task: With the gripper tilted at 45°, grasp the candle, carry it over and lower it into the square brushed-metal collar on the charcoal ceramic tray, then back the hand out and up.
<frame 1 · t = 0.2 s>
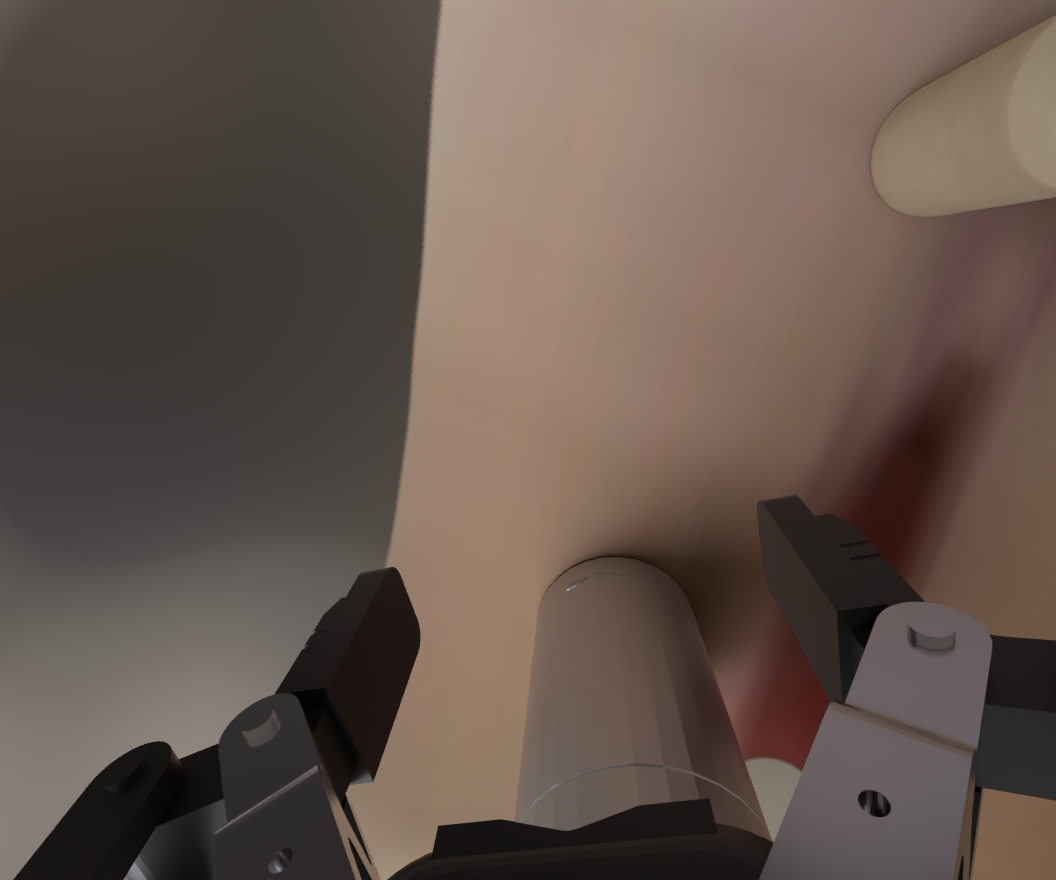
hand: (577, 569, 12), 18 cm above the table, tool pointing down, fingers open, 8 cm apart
candle: (930, 153, 25), on the table
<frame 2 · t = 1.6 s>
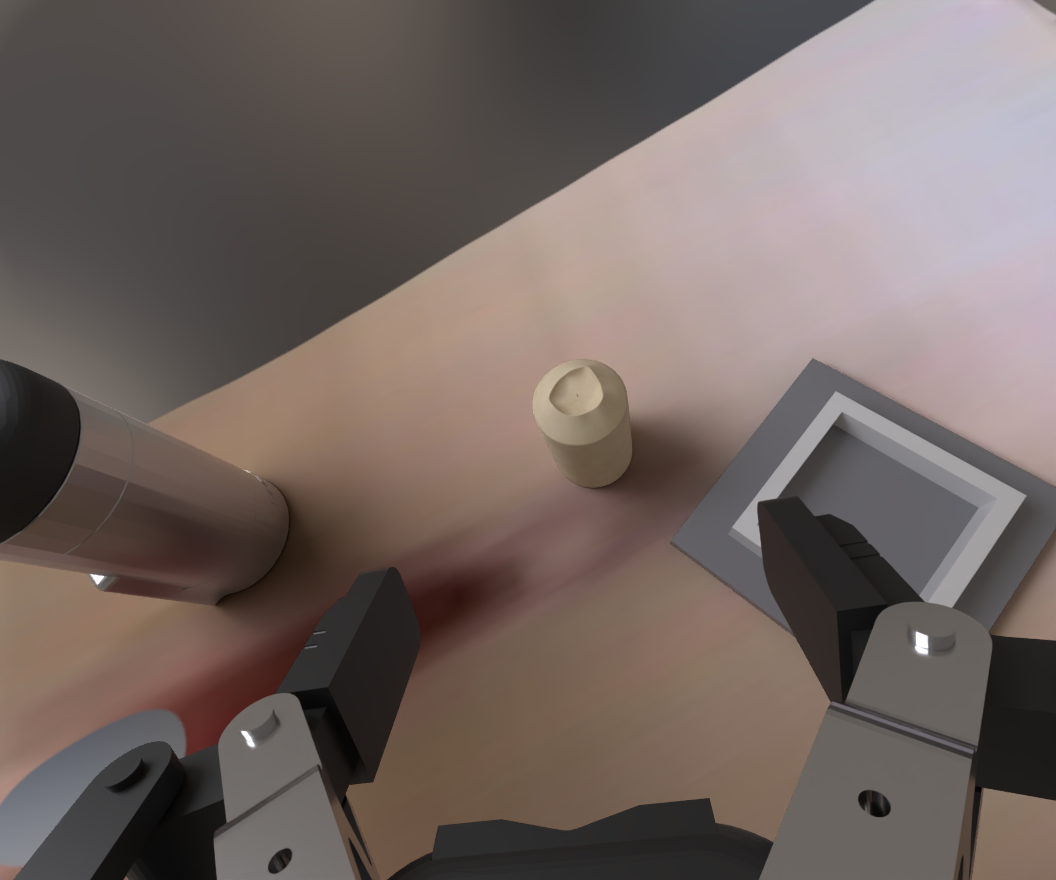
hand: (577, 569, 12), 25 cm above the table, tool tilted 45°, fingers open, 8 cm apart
candle: (594, 452, 40), on the table
candle tray: (856, 524, 35), on the table
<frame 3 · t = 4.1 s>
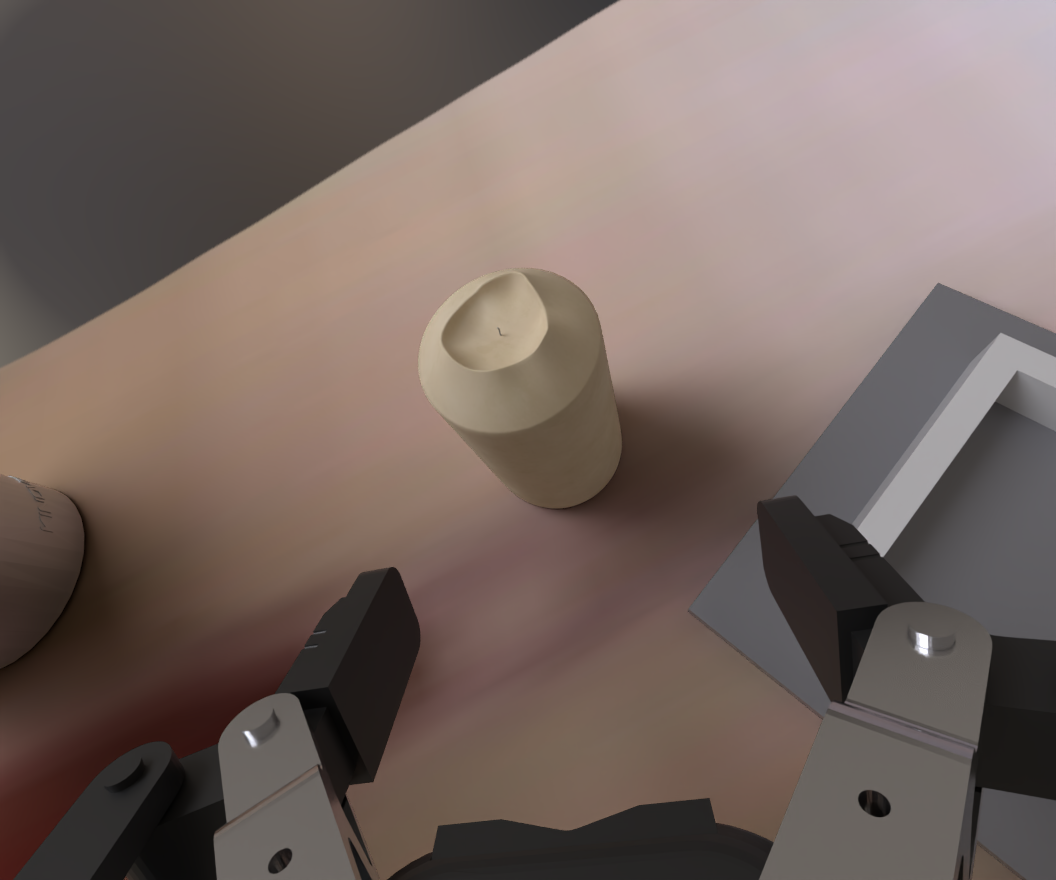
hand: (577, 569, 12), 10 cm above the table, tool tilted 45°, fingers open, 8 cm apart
candle: (558, 449, 24), on the table
candle tray: (1041, 583, 18), on the table
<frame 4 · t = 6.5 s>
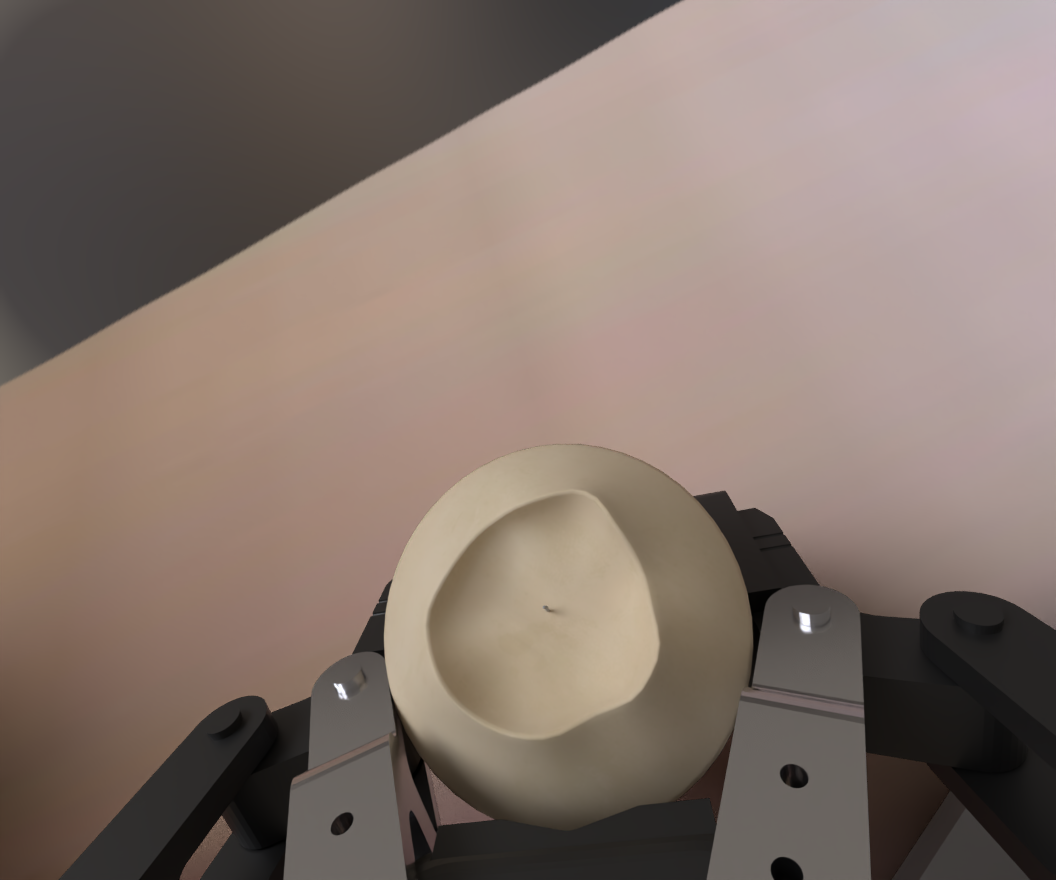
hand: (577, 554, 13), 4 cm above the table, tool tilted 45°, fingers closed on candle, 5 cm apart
candle: (606, 645, 16), on the table, touching gripper
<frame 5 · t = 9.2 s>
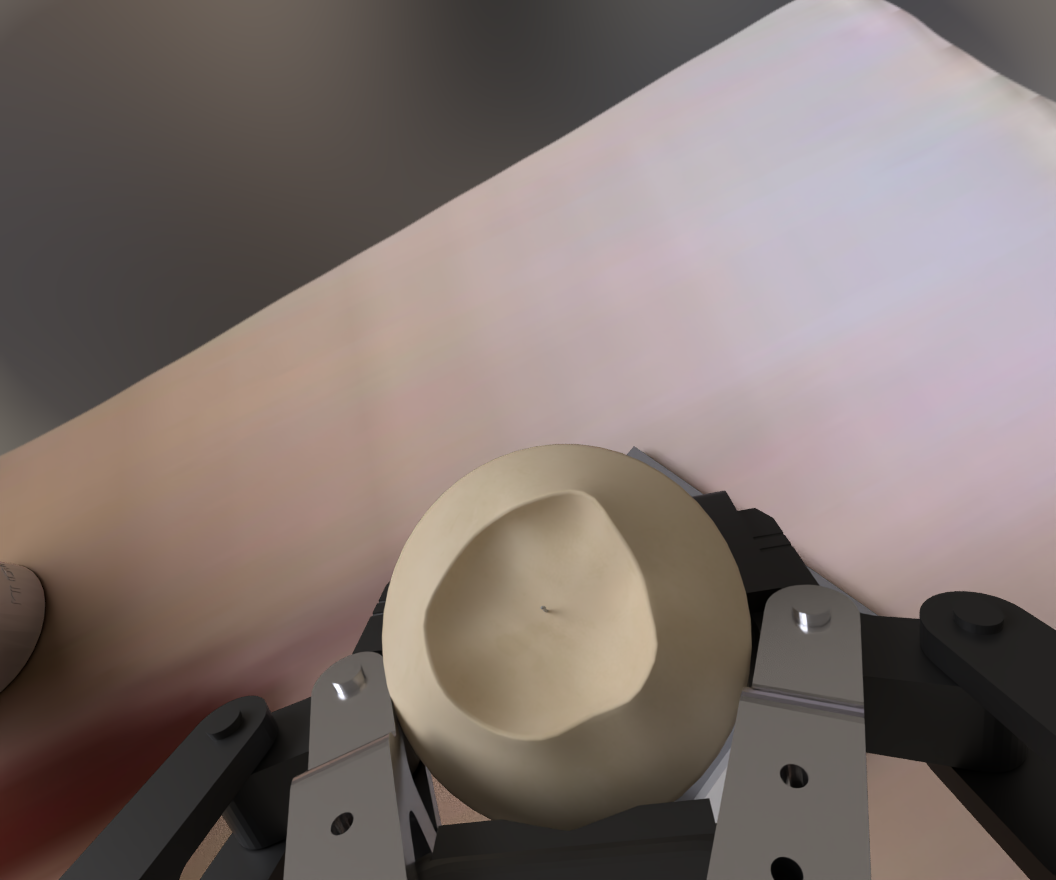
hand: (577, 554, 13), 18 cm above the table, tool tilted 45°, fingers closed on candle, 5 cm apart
candle: (606, 646, 16), point 14 cm above the table, touching gripper
candle tray: (663, 658, 28), on the table
when the fingers open (6 cm above the table, at t = 12.2 s): candle drops 1 cm, resting on candle tray.
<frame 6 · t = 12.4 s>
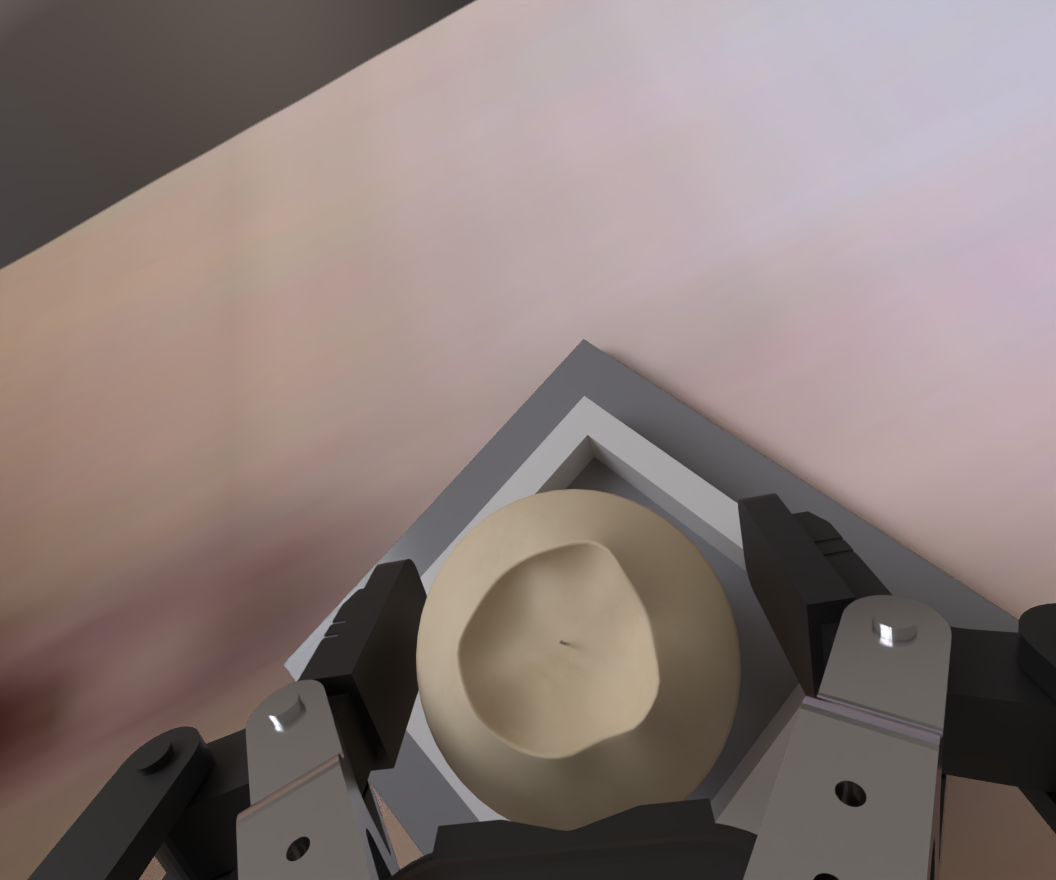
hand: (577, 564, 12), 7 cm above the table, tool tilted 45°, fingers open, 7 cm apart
candle: (609, 656, 17), point 1 cm above the table, touching candle tray
candle tray: (614, 649, 18), on the table
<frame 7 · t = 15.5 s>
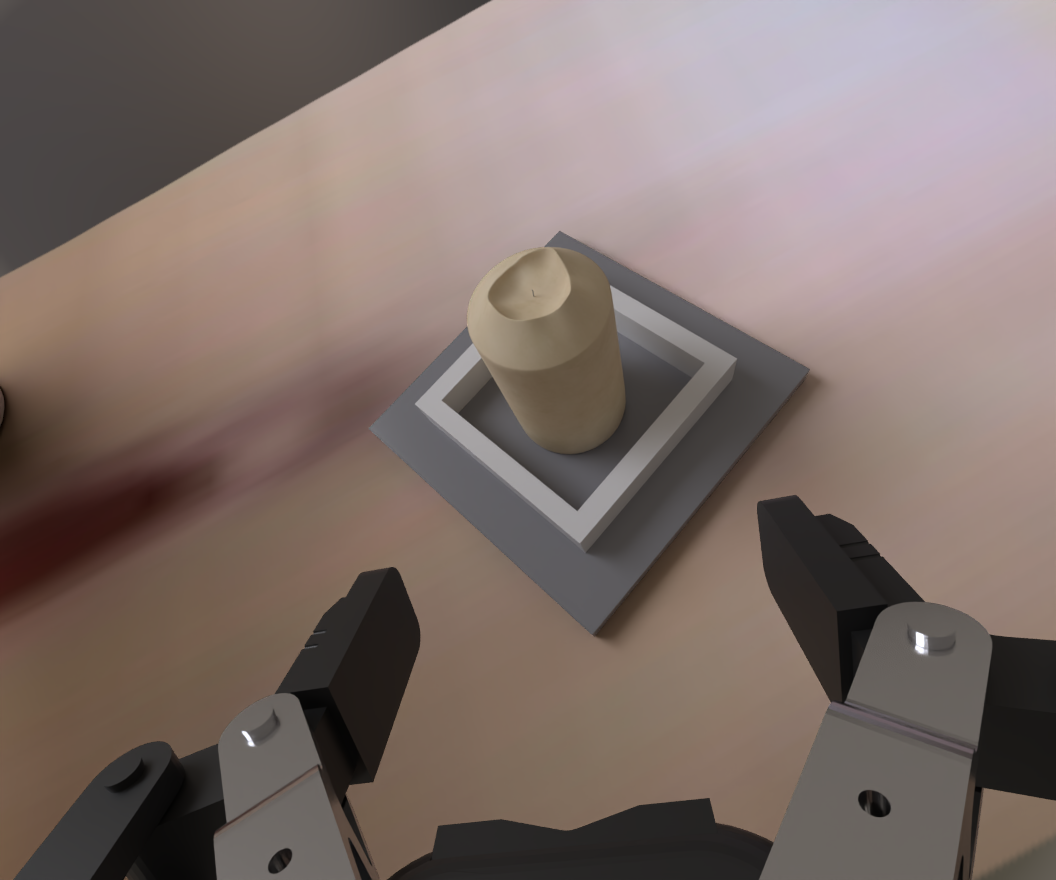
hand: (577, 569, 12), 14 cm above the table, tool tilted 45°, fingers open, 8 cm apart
candle: (572, 406, 29), point 1 cm above the table, touching candle tray
candle tray: (575, 409, 29), on the table
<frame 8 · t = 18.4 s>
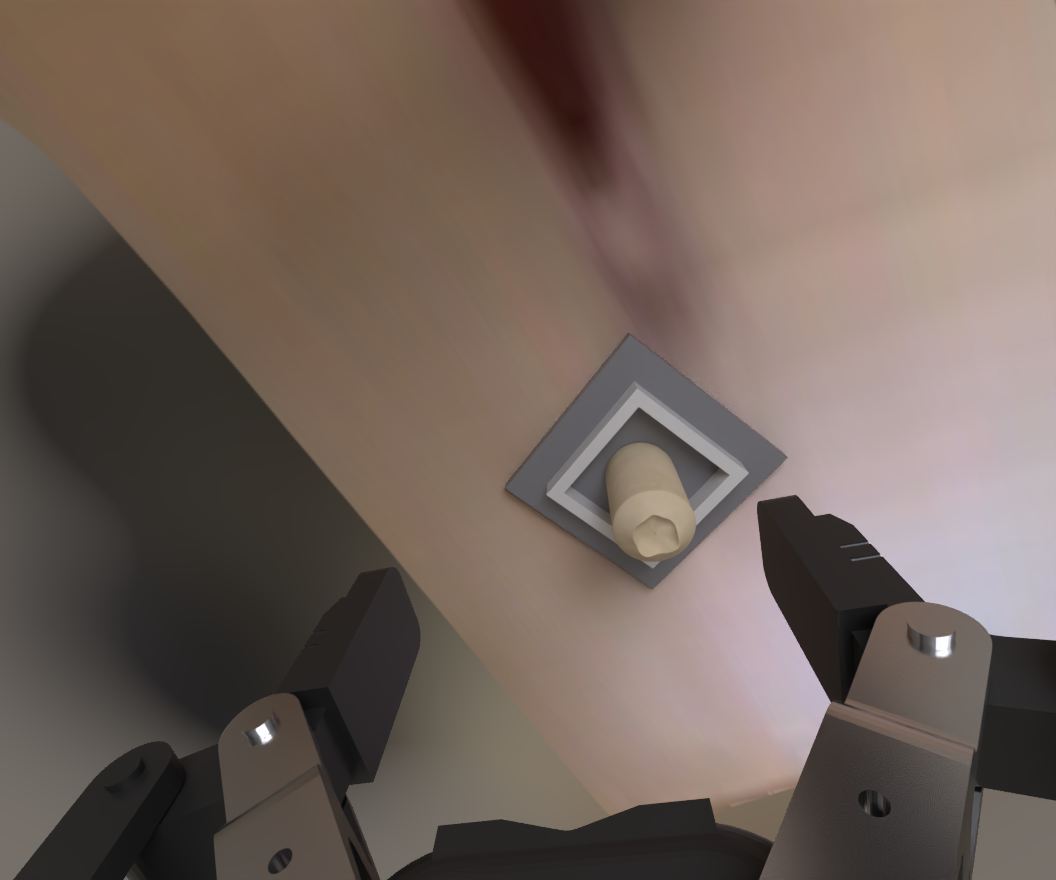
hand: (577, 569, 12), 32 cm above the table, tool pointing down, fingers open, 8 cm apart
candle: (638, 471, 45), point 1 cm above the table, touching candle tray
candle tray: (640, 468, 46), on the table
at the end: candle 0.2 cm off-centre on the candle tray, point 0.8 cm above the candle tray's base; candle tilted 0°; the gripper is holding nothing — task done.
